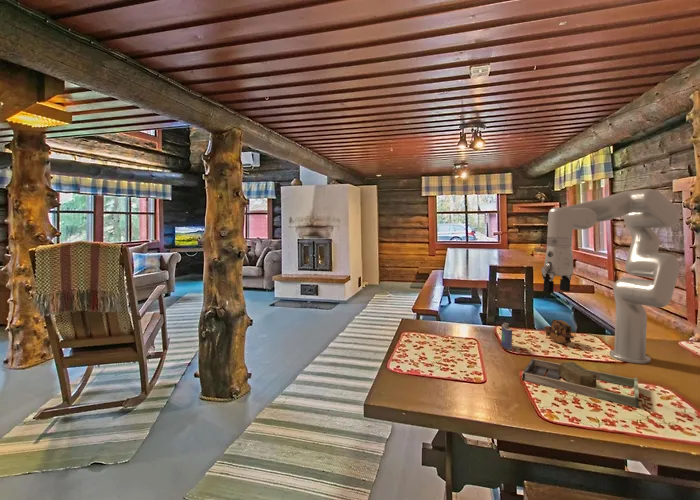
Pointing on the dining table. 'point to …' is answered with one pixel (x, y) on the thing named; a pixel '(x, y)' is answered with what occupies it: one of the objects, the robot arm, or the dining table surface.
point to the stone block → (577, 374)
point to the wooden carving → (559, 331)
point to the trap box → (553, 381)
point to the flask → (506, 337)
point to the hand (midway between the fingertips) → (556, 291)
